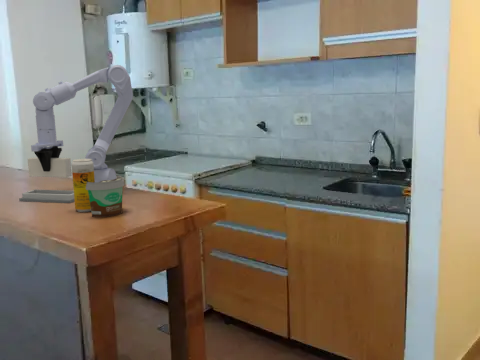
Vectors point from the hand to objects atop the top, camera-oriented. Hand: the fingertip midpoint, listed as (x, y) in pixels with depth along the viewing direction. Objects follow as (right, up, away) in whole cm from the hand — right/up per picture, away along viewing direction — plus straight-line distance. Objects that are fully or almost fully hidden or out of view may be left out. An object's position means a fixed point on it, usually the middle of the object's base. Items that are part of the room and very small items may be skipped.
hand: (50, 170), depth 164 cm
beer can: (+18, -12, -18) cm, 28 cm away
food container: (+27, -13, -23) cm, 38 cm away
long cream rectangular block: (0, -2, 0) cm, 2 cm away
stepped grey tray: (+2, -9, -2) cm, 10 cm away
